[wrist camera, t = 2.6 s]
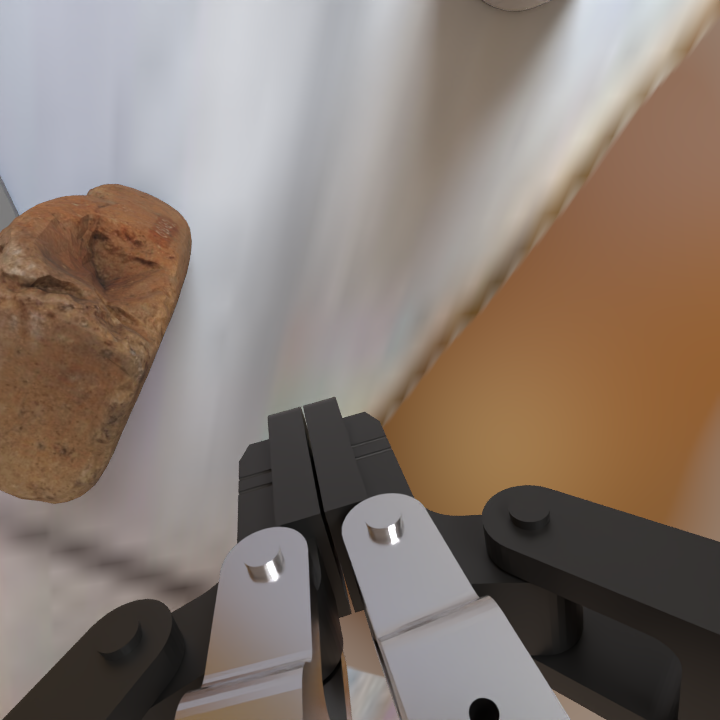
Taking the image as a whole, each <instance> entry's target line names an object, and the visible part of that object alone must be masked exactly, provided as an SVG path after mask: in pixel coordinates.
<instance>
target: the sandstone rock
mask: <svg viewBox="0 0 720 720" xmlns="http://www.w3.org/2000/svg"><path fill="white" fill-rule="evenodd" d="M191 244H192V240H191V233H190V228H189V226H188V224H187V222H186V220H185V219H184V218H183V216H182V215H181V214H180V213H179V212H178V211H177V210H175V209H174V208H172V207H171V206H169V205H168V204H166V203H165V202H163V201H161V200H159V199H158V198H156V197H153V196H151V195H149V194H147V193H144V192H141V191H139V190H136V189H133V188H130V187H126V186H123V185H119V184H106V185H101V186H99V187H95V188H93V189H91V190H90V191H89V192H88V194H87V196H84V195H78V196H65V197H60V198H56V199H53V200H49V201H46V202H43V203H41V204H38V205H36V206H34V207H33V208H31V209H29V210H27V211H26V212H24V213H23V214H22V215H20V216H18V217H16V218H15V219H14V220H13V221H12V222H11V223H10V224H9V226H7V227H6V228H4V229H3V230H2V231H1V232H0V490H1V491H4V492H6V493H8V494H11V495H13V496H16V497H18V498H21V499H28V500H37V501H43V502H48V503H53V504H56V503H62V502H68V501H70V500H73V499H76V498H78V497H80V496H82V495H83V494H85V493H86V492H87V491H88V490H90V489H91V488H92V487H93V486H94V485H95V484H96V483H97V481H98V480H99V478H100V476H101V475H102V473H103V472H104V470H105V469H106V467H107V465H108V463H109V461H110V459H111V457H112V455H113V453H114V451H115V448H116V446H117V444H118V441H119V439H120V436H121V434H122V431H123V429H124V427H125V425H126V423H127V421H128V418H129V416H130V414H131V411H132V409H133V407H134V405H135V402H136V400H137V398H138V396H139V394H140V391H141V389H142V387H143V384H144V382H145V380H146V378H147V375H148V373H149V371H150V368H151V366H152V363H153V361H154V358H155V356H156V353H157V351H158V348H159V346H160V343H161V341H162V338H163V336H164V333H165V331H166V329H167V326H168V324H169V322H170V319H171V317H172V314H173V312H174V309H175V307H176V304H177V301H178V298H179V295H180V291H181V288H182V285H183V283H184V279H185V276H186V273H187V270H188V265H189V260H190V255H191Z"/></svg>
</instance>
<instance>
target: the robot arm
mask: <svg viewBox="0 0 720 720" xmlns="http://www.w3.org/2000/svg"><path fill="white" fill-rule="evenodd" d="M483 1H484V2H486V3H488V4H489V5H491V6H492V7H496V8H499V9H502V10H505V11H522V10H526V9H530V8H534V7H537V6H539V5H541V4H544V3H546V2H549V1H551V0H483ZM303 408H304V413H305V418H306V422H305V418H304V415H303V412H302V409H301V407H298V408H294V409H291V410H287V411H283V412H280V413H276V414H273V415H269V416H268V428H269V439H268V440H265V441H261V442H257V443H254V444H250V445H249V446H248V448H247V450H246V451H245V453H244V455H243V456H242V458H241V460H240V461H239V480H240V481H239V495H238V537H237V544H236V545H235V546H234V547H233V548H232V550H231V551H230V552H229V553H228V555H227V556H226V558H225V559H224V562H223V564H222V567H221V571H220V577H219V582H218V583H217V584H216V585H215V586H214V587H212V588H211V589H210V590H209V591H207V592H206V593H204V594H203V595H201V596H200V597H198V598H196V599H194V600H193V601H191V602H189V603H188V604H186V605H184V606H182V607H181V608H179V609H177V610H176V611H174V612H172V613H171V612H170V610H169V609H168V607H167V606H166V605H165V604H164V603H162V602H160V601H157V600H153V599H143V600H137V601H133V602H130V603H127V604H125V605H122V606H120V607H118V608H116V609H114V610H113V611H111V612H110V613H108V614H107V615H105V616H104V617H103V618H101V619H100V620H99V621H98V622H97V623H96V624H94V625H93V626H92V627H91V628H90V629H89V630H88V631H87V632H86V633H85V635H84V636H83V637H82V638H81V639H80V640H79V641H78V642H77V643H76V644H75V645H74V646H73V647H72V648H71V649H70V650H69V651H68V652H67V653H66V654H65V655H64V656H63V657H62V658H61V659H60V660H59V661H58V663H57V664H56V665H55V666H54V667H53V668H52V669H51V670H50V671H49V672H48V673H47V674H46V675H45V676H44V677H43V678H42V679H41V680H40V681H39V682H38V683H37V684H36V685H35V686H34V687H33V688H32V689H31V690H30V692H29V693H28V694H27V695H26V696H25V697H24V698H23V699H22V700H21V701H20V702H19V703H18V704H17V705H16V706H15V707H14V708H13V709H12V710H11V711H10V712H9V713H8V714H7V715H6V716H5V717H4V718H3V720H352V713H351V703H350V694H349V684H348V674H347V665H346V659H345V655H344V652H343V637H342V632H341V626H340V622H339V618H340V617H343V616H347V615H350V614H351V609H350V604H349V600H348V595H347V590H346V586H345V581H346V584H347V587H348V590H349V594H350V597H351V600H352V604H353V607H354V610H355V612H358V611H362V610H364V611H365V615H366V618H367V622H368V625H369V628H370V631H371V635H372V639H373V641H374V645H375V649H376V652H377V655H378V658H379V661H380V664H381V667H382V670H383V673H384V676H385V679H386V682H387V685H388V688H389V691H390V694H391V697H392V700H393V703H394V706H395V709H396V712H397V715H398V718H399V720H570V718H569V716H568V715H567V713H566V712H565V710H564V709H563V707H562V705H561V704H560V702H559V700H558V699H557V697H556V696H555V694H554V693H553V691H552V689H553V690H555V691H557V692H558V693H560V694H562V695H564V696H566V697H567V698H569V699H571V700H573V701H574V702H576V703H578V704H580V705H581V706H583V707H585V708H587V709H589V710H590V711H592V712H594V713H596V714H597V715H599V716H601V717H603V718H605V719H606V720H720V542H718V541H715V540H712V539H708V538H705V537H702V536H699V535H695V534H692V533H689V532H686V531H683V530H679V529H677V528H673V527H670V526H667V525H664V524H661V523H657V522H654V521H651V520H648V519H645V518H642V517H638V516H635V515H632V514H629V513H626V512H622V511H619V510H616V509H613V508H610V507H606V506H603V505H600V504H597V503H593V502H590V501H587V500H584V499H581V498H577V497H574V496H571V495H568V494H565V493H562V492H559V491H555V490H552V489H549V488H545V487H541V486H531V485H525V486H516V487H511V488H508V489H505V490H503V491H501V492H499V493H497V494H496V495H494V496H493V497H492V498H491V499H490V500H489V501H488V502H487V503H486V505H485V507H484V509H483V512H482V515H469V516H449V515H443V514H439V513H435V512H433V511H430V510H428V509H426V508H424V506H423V505H422V504H421V503H420V502H419V501H418V500H416V499H415V498H414V496H413V495H412V493H411V490H410V488H409V486H408V484H407V482H406V479H405V477H404V475H403V473H402V470H401V468H400V466H399V464H398V461H397V459H396V457H395V455H394V453H393V450H392V449H391V446H390V444H389V442H388V439H387V438H386V435H385V433H384V430H383V428H382V426H381V424H380V421H378V420H377V419H375V418H374V417H372V416H370V415H369V414H367V413H366V412H362V413H359V414H355V415H352V416H348V417H345V418H342V416H341V413H340V410H339V407H338V404H337V401H336V398H335V397H333V398H329V399H326V400H322V401H319V402H315V403H312V404H308V405H304V406H303ZM306 423H307V425H306ZM342 571H343V572H342ZM343 574H344V576H343ZM344 577H345V581H344Z"/></svg>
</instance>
